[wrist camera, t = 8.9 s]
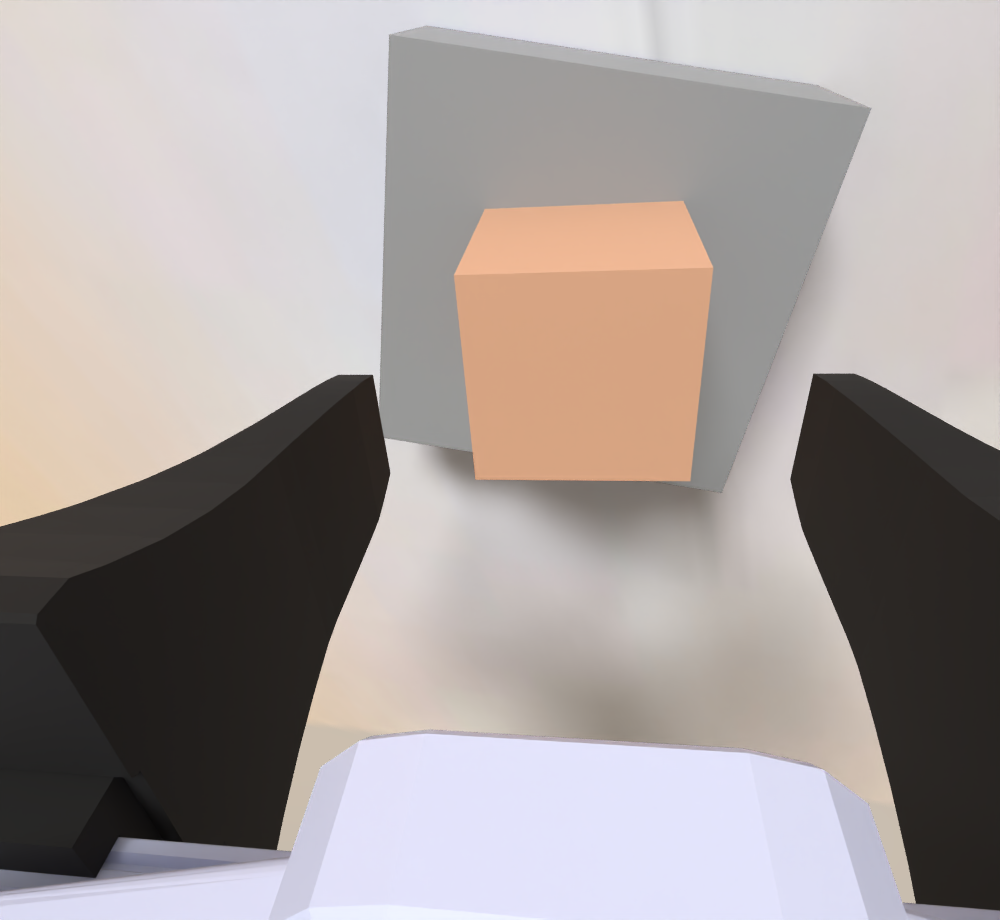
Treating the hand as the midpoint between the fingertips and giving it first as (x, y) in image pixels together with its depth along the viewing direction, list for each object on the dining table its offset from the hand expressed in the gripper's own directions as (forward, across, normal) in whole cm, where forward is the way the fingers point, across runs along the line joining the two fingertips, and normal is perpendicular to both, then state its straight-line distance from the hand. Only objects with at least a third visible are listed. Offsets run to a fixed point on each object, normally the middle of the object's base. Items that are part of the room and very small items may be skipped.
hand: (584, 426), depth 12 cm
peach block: (+6, 0, 0) cm, 6 cm away
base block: (+10, 0, 0) cm, 10 cm away
